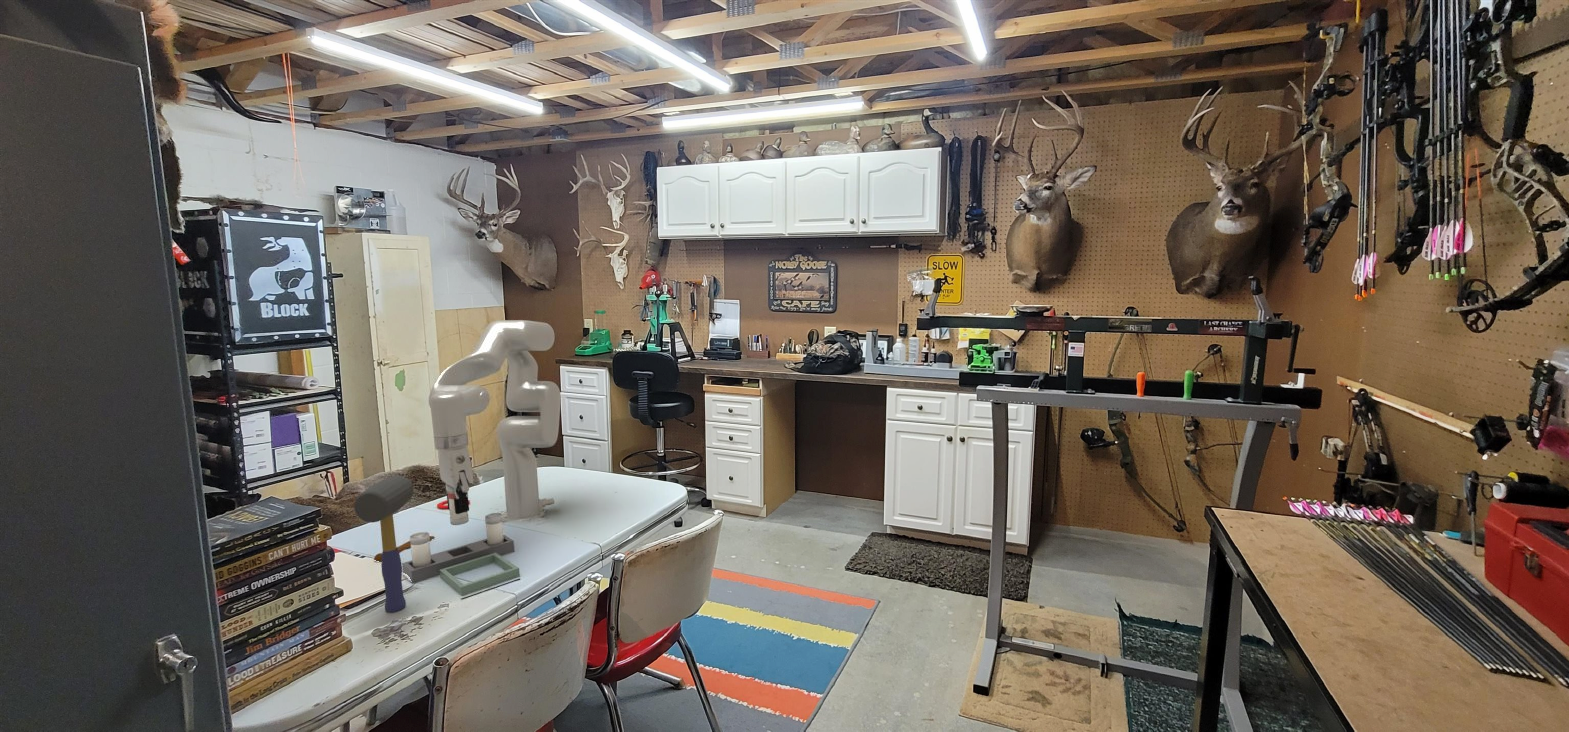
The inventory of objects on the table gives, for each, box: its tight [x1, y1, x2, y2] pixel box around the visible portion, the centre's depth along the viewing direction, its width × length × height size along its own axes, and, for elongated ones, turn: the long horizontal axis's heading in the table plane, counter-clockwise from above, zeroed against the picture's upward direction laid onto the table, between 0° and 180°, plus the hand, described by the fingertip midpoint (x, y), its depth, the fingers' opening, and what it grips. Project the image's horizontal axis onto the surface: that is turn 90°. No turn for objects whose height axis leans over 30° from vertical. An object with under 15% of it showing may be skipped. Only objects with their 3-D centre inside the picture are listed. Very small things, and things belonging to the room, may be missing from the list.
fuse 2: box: [484, 512, 504, 546], centre depth 173 cm, size 4×4×10 cm
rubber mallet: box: [353, 475, 415, 613], centre depth 143 cm, size 12×8×30 cm, turn 5°
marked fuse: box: [447, 483, 470, 526], centre depth 166 cm, size 4×4×10 cm
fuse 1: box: [409, 531, 432, 569], centre depth 161 cm, size 4×4×10 cm
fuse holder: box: [401, 533, 515, 584], centre depth 168 cm, size 25×7×4 cm, turn 136°
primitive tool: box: [373, 535, 436, 563], centre depth 178 cm, size 19×6×4 cm, turn 176°
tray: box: [439, 553, 521, 601], centre depth 159 cm, size 14×14×3 cm
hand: (458, 509), depth 167 cm, fingers closed on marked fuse, 4 cm apart
